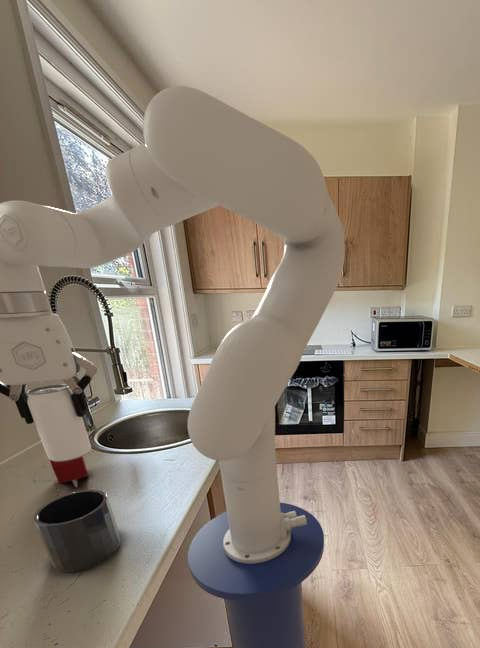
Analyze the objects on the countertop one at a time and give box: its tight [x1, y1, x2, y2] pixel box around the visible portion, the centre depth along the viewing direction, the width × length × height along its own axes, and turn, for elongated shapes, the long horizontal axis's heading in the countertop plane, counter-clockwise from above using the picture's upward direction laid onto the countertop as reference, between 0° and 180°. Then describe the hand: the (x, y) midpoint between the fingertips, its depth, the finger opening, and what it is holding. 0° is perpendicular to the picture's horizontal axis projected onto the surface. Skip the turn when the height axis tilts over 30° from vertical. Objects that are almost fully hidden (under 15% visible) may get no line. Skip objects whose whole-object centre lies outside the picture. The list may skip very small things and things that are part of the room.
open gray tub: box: [33, 489, 122, 574], centre depth 63 cm, size 11×11×10 cm
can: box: [26, 383, 92, 462], centre depth 59 cm, size 6×6×12 cm
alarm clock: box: [49, 456, 90, 488], centre depth 87 cm, size 15×9×20 cm, turn 37°
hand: (57, 417), depth 59 cm, fingers closed on can, 6 cm apart
